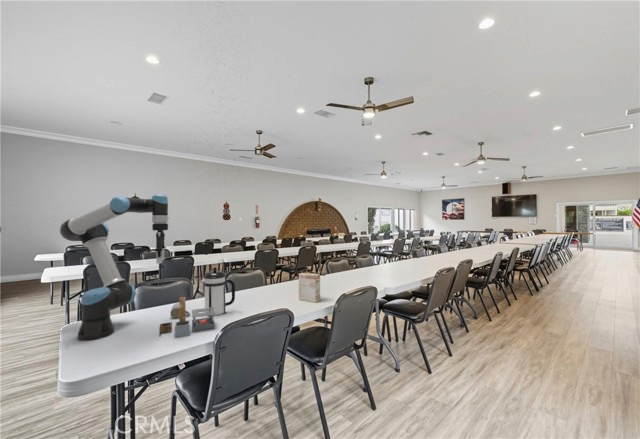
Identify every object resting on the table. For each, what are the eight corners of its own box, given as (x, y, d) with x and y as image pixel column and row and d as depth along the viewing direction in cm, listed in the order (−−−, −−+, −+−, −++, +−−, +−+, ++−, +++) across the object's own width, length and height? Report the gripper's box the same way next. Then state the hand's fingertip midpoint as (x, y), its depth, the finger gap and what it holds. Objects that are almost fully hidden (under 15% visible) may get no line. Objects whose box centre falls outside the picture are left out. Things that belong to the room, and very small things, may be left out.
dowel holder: (159, 336, 146) (159, 327, 146) (160, 333, 151) (160, 323, 151) (171, 335, 149) (171, 325, 149) (172, 331, 153) (171, 322, 153)
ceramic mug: (169, 320, 172) (170, 307, 172) (171, 315, 179) (172, 303, 179) (189, 318, 175) (189, 305, 175) (190, 314, 183) (190, 301, 183)
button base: (192, 335, 148) (192, 315, 148) (192, 328, 158) (191, 309, 158) (214, 331, 153) (214, 312, 153) (213, 324, 163) (213, 307, 163)
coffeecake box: (320, 300, 210) (320, 273, 210) (315, 303, 204) (315, 275, 204) (303, 297, 218) (303, 272, 218) (298, 300, 212) (298, 273, 212)
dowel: (179, 338, 144) (179, 298, 144) (179, 336, 147) (179, 297, 147) (185, 337, 145) (185, 298, 145) (185, 335, 148) (185, 296, 148)
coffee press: (221, 320, 170) (220, 269, 170) (197, 318, 173) (196, 269, 173) (235, 311, 187) (235, 265, 187) (213, 309, 190) (213, 264, 190)
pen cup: (175, 340, 142) (174, 326, 142) (175, 335, 148) (175, 322, 148) (189, 338, 144) (189, 324, 144) (189, 333, 150) (189, 320, 150)
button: (199, 331, 153) (199, 322, 153) (199, 329, 156) (199, 319, 157) (207, 330, 155) (207, 321, 155) (207, 327, 158) (206, 318, 158)
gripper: (166, 223, 148) (166, 264, 148) (169, 223, 171) (169, 258, 171) (149, 223, 145) (149, 265, 145) (154, 223, 168) (155, 259, 168)
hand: (160, 261), depth 158 cm, fingers open, 13 cm apart
